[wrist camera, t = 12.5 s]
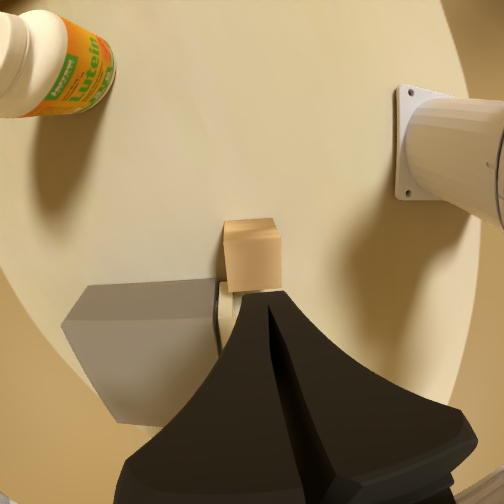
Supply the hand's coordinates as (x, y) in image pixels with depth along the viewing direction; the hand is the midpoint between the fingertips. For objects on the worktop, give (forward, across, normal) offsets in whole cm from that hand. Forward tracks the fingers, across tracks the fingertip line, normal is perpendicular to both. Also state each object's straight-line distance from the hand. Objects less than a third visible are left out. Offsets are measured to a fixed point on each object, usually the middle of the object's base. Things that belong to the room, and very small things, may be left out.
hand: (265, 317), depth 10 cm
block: (+10, 0, +2) cm, 10 cm away
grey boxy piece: (+10, +8, +10) cm, 16 cm away
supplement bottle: (+10, +10, -11) cm, 18 cm away
